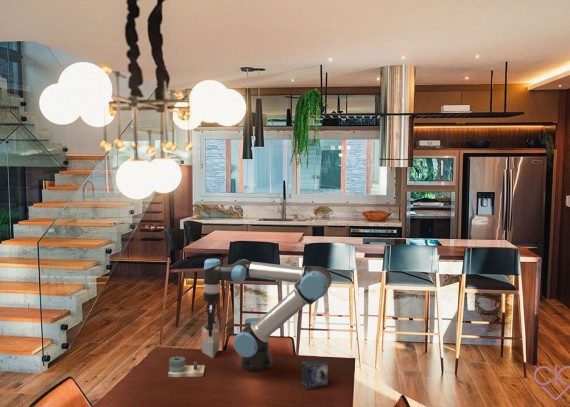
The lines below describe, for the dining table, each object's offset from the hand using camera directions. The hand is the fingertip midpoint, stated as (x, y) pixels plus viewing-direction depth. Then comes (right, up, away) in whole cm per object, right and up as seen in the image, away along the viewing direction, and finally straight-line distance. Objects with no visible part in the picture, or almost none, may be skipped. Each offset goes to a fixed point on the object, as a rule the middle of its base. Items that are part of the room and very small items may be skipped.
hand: (210, 340), depth 246 cm
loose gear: (0, 0, 0) cm, 0 cm away
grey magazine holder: (-5, -14, +27) cm, 31 cm away
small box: (+48, -17, -13) cm, 53 cm away
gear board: (-11, -15, 0) cm, 19 cm away
